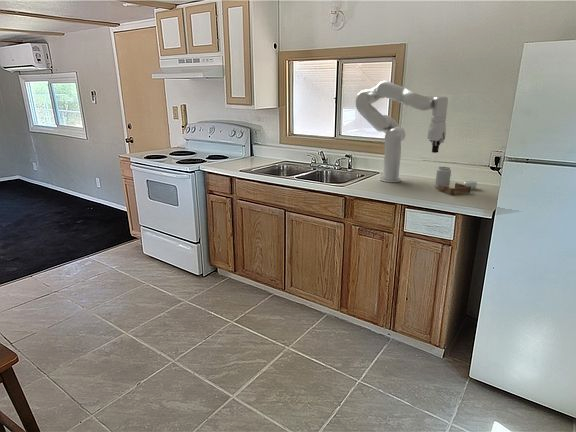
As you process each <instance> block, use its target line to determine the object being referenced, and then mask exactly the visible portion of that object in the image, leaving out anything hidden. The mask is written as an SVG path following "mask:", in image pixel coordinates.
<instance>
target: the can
mask: <svg viewBox="0 0 576 432" xmlns="http://www.w3.org/2000/svg"><path fill="white" fill-rule="evenodd" d="M435 175H436V176H435V182H434V183H435V185H434V186H435V188H436V189H438V190H439V185H444V186H447V187H450V184H451V183H450V182H451V176H452V170H451V167H449V166H438V168H437V169H436V173H435Z"/></svg>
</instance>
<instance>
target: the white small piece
mask: <svg viewBox="0 0 576 432" xmlns="http://www.w3.org/2000/svg"><path fill="white" fill-rule="evenodd" d="M462 184H463V185H466V186H469V187H471V190H470V191H476V189H477V185H478V182H477V181H475V180H463V182H462Z"/></svg>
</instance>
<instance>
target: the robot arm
mask: <svg viewBox="0 0 576 432" xmlns="http://www.w3.org/2000/svg"><path fill="white" fill-rule="evenodd" d="M385 98H386V99H389V100H392V101H394V102H397V103H400V104H402V105H406V106H408V107H410V108H413V109H416V110H418V111H428V110H432V112H431V119H430V120H431V121H430V123H429V125H428V130H427V139H428V140H429V142H430V143H431V145H432V146H431V153H434V154H435V153H438V154H439V147H440V146H441V144H443V143H444V140H446V135H447V123H446V121H447V114H448V113H447V111H448V103H449V98H448V97H447V96H430V95H427V96H426V95H422V94H420V93H419V94H418V93H415V92H413V91H411V90H409V88H407V87H404V86H401V85H398V84H395V83H393V82H391V81H389V80H382V81H380V82H379V83H378V84H377V85H376V86H374V87H372V88H370V89H363V90H360V92H358V93H357V96H356V98H355V107H356V110H357V111H358V113H359V115H361V116H362V117H363V118H364V120H365V121H367V122H368V123H369V124H370V125H371V126H372V127H373V128H374V129H375V131H377V132H379V133H382V132H383V133H384V134H385V135H384V154H383V155H384V158H383V170H382V172H381V173H380V175H381V177H380V178H379V180H380V181H381V182H385V183H400V182H402V178H401V177H400V168H401V167H400V166H401V156H402V142H403V141H404V139H405V138H406V131H405V130H404V128H403V126H401V125H400V124H399V123H398V122H397V121H396V120H394V118H393V117H391V116H390V115H388V114H383V113H381V112H380V111H379V110H378V109H377V108H376V107H375V106H373V105H372V104H374V103H377V102H378V101H380V100H382V99H385Z"/></svg>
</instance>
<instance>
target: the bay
mask: <svg viewBox="0 0 576 432" xmlns="http://www.w3.org/2000/svg"><path fill="white" fill-rule="evenodd" d="M471 191H472V190H471V187H469V186H466V185H463V183H458V182H455V183H454V187H450V186H449V187H447V186H444V185H439V189H438V192H441V193H444V194H446V195H449V196H459V195H466V194H471Z"/></svg>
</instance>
